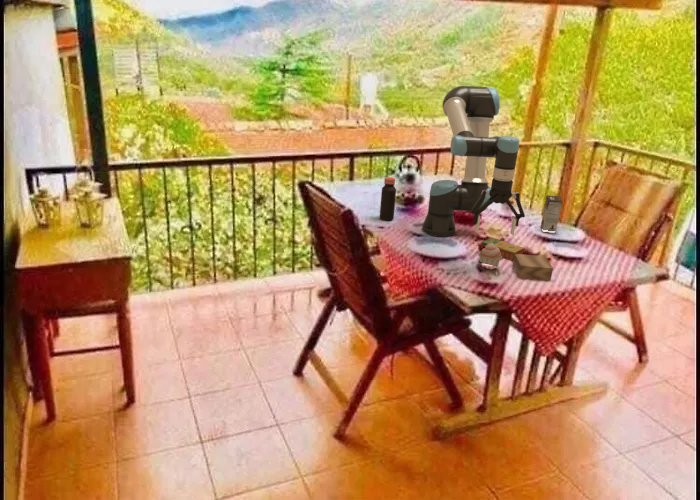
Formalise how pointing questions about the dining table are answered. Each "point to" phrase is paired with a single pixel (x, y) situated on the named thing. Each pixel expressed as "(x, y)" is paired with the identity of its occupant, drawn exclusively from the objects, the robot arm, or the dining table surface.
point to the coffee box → (551, 213)
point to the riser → (532, 267)
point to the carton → (504, 248)
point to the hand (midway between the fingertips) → (494, 232)
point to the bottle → (388, 200)
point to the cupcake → (490, 255)
